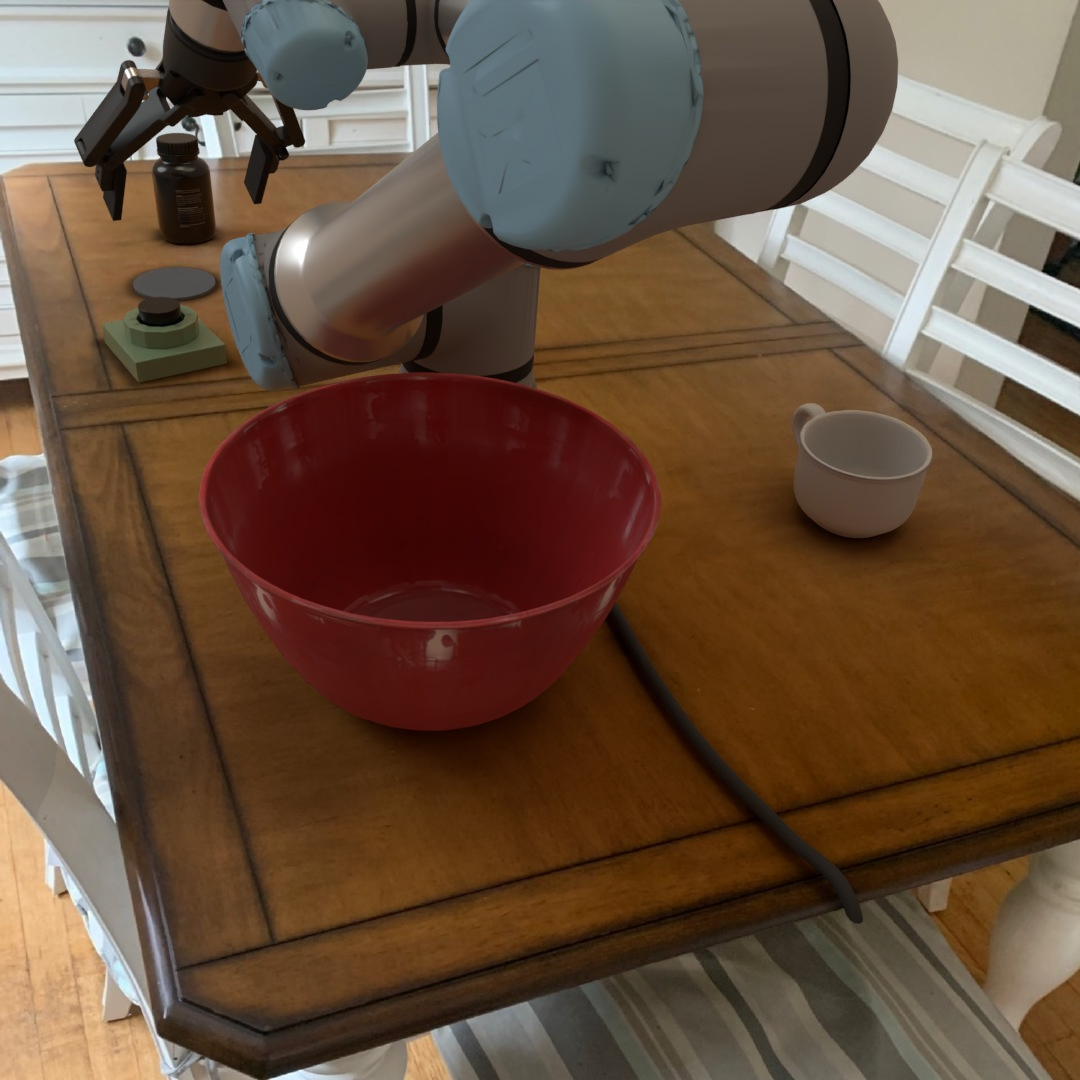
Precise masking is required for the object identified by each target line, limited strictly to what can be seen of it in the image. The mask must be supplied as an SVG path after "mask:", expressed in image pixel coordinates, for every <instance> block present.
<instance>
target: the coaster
mask: <svg viewBox="0 0 1080 1080" xmlns="http://www.w3.org/2000/svg"><path fill="white" fill-rule="evenodd" d="M132 286H133V287H132V288H133V290H134V292H135V293H136V294H137V295H138V296H141V297H143V298H145V299H148V298H153V297H169V298H173V299H176V300H178V301H179V302H184V301H189V300H190V301H191V300H196V299H198V298H201V297H204V296H206V295H208V294H210V293H211V292H213V291H214V290H215V288H216V286H217V281H216V278H215V277H214V275H213V274H211V273H210V272H208V271H206V270H202V269H199V268H193V267H185V266H172V267H171V266H169V267H160V268H156V269H151V270H148V271H146V272H145V271H144V272H143V273H141V274H140V275H138V276H136V278H135V279H133V282H132Z"/></svg>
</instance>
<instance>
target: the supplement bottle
mask: <svg viewBox="0 0 1080 1080" xmlns="http://www.w3.org/2000/svg"><path fill="white" fill-rule="evenodd" d="M155 143H156V155H157V156H158V157H159V158H157V159H156V160H155V161H154V162H153V164H152V166H151V169H150V170H151V178H152V185H153V192H154V193H153V194H154V199H155V200H154V201H155V208H156V215H157V222H158V229H159V233H160V236H161V237H162V239H163V240H165V241H167V242H170V243H174V244H178V245H194V244H201V243H206V242H207V241H210V240H212V239H213V238H214V237H215V235H216V234H217V224H216V214H215V204H214V196H213V186H212V178H211V170H210V166H209V164H208V162H206V161H205V160H204V159H203V158H201V157H200V156H199V155H200V153H201V152H200V147H199V139H198V137H197V136H196V135H195V134H191V133H187V132H168V133H163V134H160V135H158V136H157V137H156V138H155Z"/></svg>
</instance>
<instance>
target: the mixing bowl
mask: <svg viewBox="0 0 1080 1080" xmlns="http://www.w3.org/2000/svg"><path fill="white" fill-rule="evenodd" d="M398 373H399V372H398ZM398 373H385V374H377V375H370V376H364V377H358V378H357V377H356V378H352V379H347V380H346V379H345V380H342V381H338V382H333V383H329V384H325V385H322V386H319V387H318V386H317V387H315V388H312V389H308V390H306V391H303V392H300V393H297V394H295V395H292V396H289V397H288V398H286V399H283V400H280V401H279V402H276V403H274V404H272V405H270V406H268V407H267V408H265V409H263V410H262V411H259V412H258V413H256V414H255V415H253V416H251V417H250V418H248V419H246V420H245V421H244V422H242V424H240V425H239V426H238V427H237V428H235V429H234V430H233V431H232V432H231V433H230V434H228V436H227V437H226V438H224V440H223V441H222V442H221V443H220V444H219V446H218V447H217V448H216V449H215V451H214V453H213V454H212V456H211V457H210V459H209V460H208V462H207V464H206V466H205V469H204V470H203V474H202V477H201V481H200V485H199V492H198V505H199V512H200V515H201V519H202V522H203V523H202V524H203V527H204V528H205V530H206V532H207V534H208V537H209V538H210V540H211V542H212V543H213V544H214V546H215V547H216V549H217V550H218V551H219V553H220V554H221V556H222V557H223V560H224V562H225V564H226V566H227V568H228V570H229V572H230V575H231V577H232V579H233V580H234V582H235V584H236V585H235V586H236V588H237V589H238V590H239V592H240V594H241V596H242V597H243V599H244V601H245V603H246V604H247V606H248V608H249V609H250V611H251V613H252V615H253V616H254V618H255V619H256V621H257V622H258V623H259V624H260V626H261V628H262V630H263V631H264V633H265V634H266V635H267V637H268V638H269V639H270V641H271V642H272V644H273V645H274V646H275V648H276V649H277V650H278V652H279V653H280V654H281V655H282V656H283V658H284V659H285V660H286V661H287V662H288V663H289V665H290V666H291V668H293V669H294V671H296V673H298V674H299V675H300V676H301V678H302V679H303V680H305V681H306V683H307V684H308V685H310V687H312V688H313V689H314V690H315V691H317V692H318V693H319V694H320V695H322V697H323V698H325V699H326V700H327V701H328V702H330V703H332V704H334V705H335V706H337V707H339V708H340V709H341V710H343V711H346V712H347V713H349V714H350V715H352V716H356V717H357V718H361V719H363V720H367V721H370V722H372V723H376V724H379V725H382V726H386V727H389V728H397V729H404V730H408V731H409V730H410V731H421V732H422V731H423V732H428V731H429V732H431V731H432V732H439V731H440V732H442V731H451V730H458V729H466V728H471V727H475V726H478V725H482V724H485V723H488V722H491V721H494V720H497V719H500V718H502V717H505V716H506V715H509V714H511V713H512V712H514V711H516V710H518V709H521V708H523V707H524V706H526V705H527V704H529V703H531V702H532V701H534V700H535V699H536V698H538V697H539V695H541V694H542V693H543V692H544V691H546V690H547V689H548V688H550V687H551V686H552V685H553V684H554V683H555V682H556V681H557V680H558V679H559V678H560V677H561V676H562V675H563V674H564V673H565V672H566V671H567V670H568V668H570V666H571V665H572V664H573V663H574V662H575V661H576V660H577V659H578V657H579V656H580V654H581V653H582V652H583V651H584V649H585V648H586V647H587V646H588V644H589V643H590V642H591V640H592V639H593V637H595V634H597V632H598V631H599V629H600V627H601V626H602V625H603V623H604V622H605V620H606V619H607V617H608V615H609V612H610V611H611V609H612V607H613V606H614V604H615V602H616V603H617V601H618V599H619V597H620V595H621V594H622V592H623V590H624V588H625V586H626V584H627V582H628V580H629V578H630V576H631V575H632V572H633V570H634V568H635V566H636V563H637V562H638V559H639V558H640V557H641V556H642V555H643V554H644V552H645V551H646V549H647V548H648V546H649V545H650V543H651V541H652V539H653V538H654V535H655V534H656V530H657V527H658V525H659V522H660V517H661V511H662V510H661V509H662V495H661V489H660V484H659V480H658V478H657V475H656V473H655V471H654V468H653V467H652V464H651V463H650V462H649V459H648V458H647V457H646V455H645V454H644V452H643V451H642V450H641V449H640V447H638V445H637V444H636V443H635V442H634V441H633V440H632V439H631V437H629V436H627V434H625V433H624V432H623V431H622V430H621V429H619V428H618V427H616V425H614V424H613V423H612V422H610V421H609V420H607V419H605V418H604V417H603V416H601V415H599V414H597V413H596V412H594V411H592V410H591V409H589V408H586V407H584V406H582V405H581V404H579V403H576V402H574V401H572V400H570V399H568V398H565V397H563V396H560V395H557V394H554V393H552V392H549V391H546V390H542V389H539V388H537V389H536V388H533V387H530V386H526V385H522V384H518V383H513V382H509V381H504V380H499V379H494V378H488V377H482V376H474V375H464V374H453V373H429V372H414V373H399V374H398Z"/></svg>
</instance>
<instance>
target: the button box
mask: <svg viewBox="0 0 1080 1080" xmlns="http://www.w3.org/2000/svg"><path fill="white" fill-rule="evenodd" d="M180 307H181V315H182V321H181V322H179V323H177V324H175V325H171V326H166V327H150V326H146V325H143V324H141V323H140V318H139V311H138V306H137V307H134V308H133V309H130V310H129V311H127V312H126V314H125V315H124V318H123V319H119V320H113V321H108V322H107V321H106V322H102V323H101V327H102V331H103V332H102V333H103V339H104V344H105V345H106V346H107V347H108V348H109V349H110V351H111V352H112V353H113V354H114V355H115V357H116V358H117V359H118V360H119V361H120V363H121V364H122V365H123V366H124V368H125V369H126V370H127V371H128V372H129V374H131V376H132V377H133V378H134V379H135V380H136V381H137V383H139V384H140V383H144V382H145V383H146V382H148V381H154V380H159V379H163V378H167V377H173V376H177V375H181V374H187V373H191V372H195V371H196V372H197V371H201V370H205V369H210V368H214V367H219V366H223V365H227V363H228V362H227V360H228V359H227V351H226V344H225V343H224V342H223V341H222V340H221V339H220V338H219V337H218V336H217V335H216V334H215V333H214V332H213V331H212V330H211V328H209V327H208V326H207V325H206V324H205V323H204V322H203V321H202V320H201V319H200V318H199V314H198V313H197V312H196V311H195V310H194V309H193V308H192V307H190V306H187V305H184V304H180Z"/></svg>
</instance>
